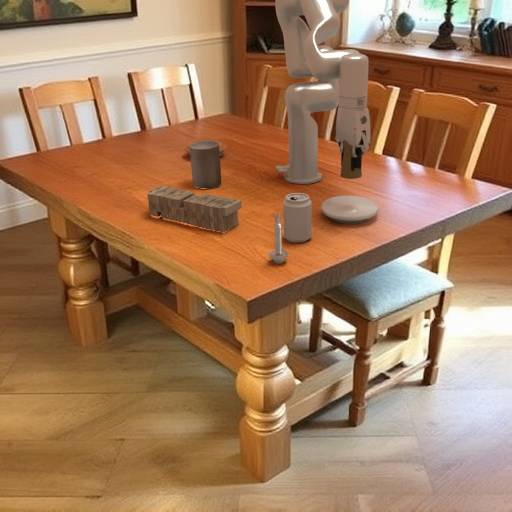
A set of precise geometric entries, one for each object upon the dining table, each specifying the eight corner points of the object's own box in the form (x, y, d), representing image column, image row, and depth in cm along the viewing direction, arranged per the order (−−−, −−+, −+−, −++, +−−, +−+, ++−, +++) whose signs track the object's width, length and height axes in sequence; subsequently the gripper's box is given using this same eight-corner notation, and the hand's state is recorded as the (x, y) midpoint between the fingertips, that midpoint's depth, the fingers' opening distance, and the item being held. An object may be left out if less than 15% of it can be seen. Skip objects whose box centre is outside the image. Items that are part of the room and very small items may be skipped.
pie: (235, 153, 257) (234, 141, 254) (211, 165, 245) (210, 151, 243) (202, 148, 264) (201, 136, 262) (177, 159, 252) (176, 146, 250)
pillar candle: (226, 181, 227) (224, 137, 220) (213, 191, 219) (209, 145, 212) (201, 179, 231) (198, 135, 224) (187, 188, 223) (183, 143, 216)
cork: (362, 172, 192) (364, 134, 187) (361, 179, 187) (362, 140, 182) (341, 171, 193) (342, 133, 189) (339, 178, 188) (340, 139, 183)
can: (282, 233, 185) (281, 192, 180) (309, 232, 186) (309, 190, 181) (285, 244, 179) (284, 202, 174) (313, 243, 179) (313, 200, 174)
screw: (292, 260, 169) (279, 267, 166) (277, 255, 172) (264, 262, 169) (291, 212, 164) (278, 218, 161) (276, 208, 167) (263, 213, 164)
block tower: (146, 219, 201) (227, 235, 186) (142, 192, 197) (225, 206, 182) (163, 211, 207) (243, 225, 192) (160, 184, 203) (241, 197, 188)
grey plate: (319, 226, 189) (319, 214, 188) (323, 205, 204) (324, 194, 202) (377, 228, 187) (377, 216, 185) (378, 207, 201) (378, 196, 199)
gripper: (384, 105, 176) (380, 173, 184) (345, 95, 190) (343, 159, 197) (361, 109, 173) (358, 178, 181) (323, 99, 186) (322, 163, 194)
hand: (351, 167), depth 189 cm, fingers closed on cork, 3 cm apart
